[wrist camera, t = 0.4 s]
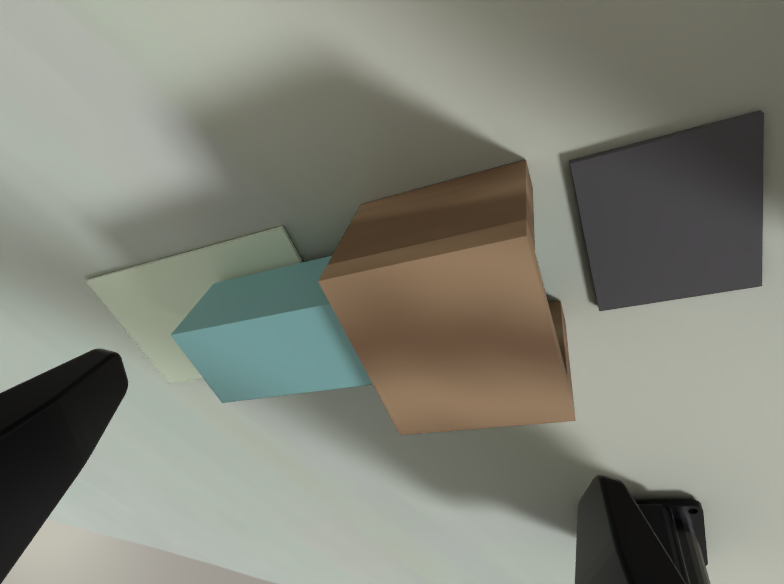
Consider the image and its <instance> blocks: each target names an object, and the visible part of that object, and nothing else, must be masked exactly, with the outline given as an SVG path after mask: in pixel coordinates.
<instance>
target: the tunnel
mask: <svg viewBox="0 0 784 584" xmlns="http://www.w3.org/2000/svg"><path fill="white" fill-rule="evenodd" d="M318 282H319V284H320V286H321V288H322V290H323V292H324V294H325V296H326V297H327V299H328V301H329V303H330V305H331V307H332V309H333V310H334V312H335V314H336V316H337V318H338V320H339V322H340V324H341V325H342V327H343V329H344V331H345V333H346V335H347V337H348V339H349V340H350V342H351V344H352V346H353V348H354V350H355V352H356V353H357V355H358V357H359V359H360V361H361V363H362V365H363V367H364V368H365V370H366V372H367V374H368V376H369V378H370V380H371V381H372V383H373V385H374V387H375V389H376V391H377V393H378V395H379V396H380V398H381V400H382V402H383V404H384V406H385V408H386V410H387V411H388V413H389V415H390V417H391V419H392V421H393V423H394V424H395V426H396V428H397V430H398V432H399V434H400V435H405V434H418V433H430V432H443V431H455V430H467V429H480V428H492V427H505V426H517V425H529V424H542V423H554V422H566V421H575V411H574V402H573V392H572V382H571V373H570V363H569V353H568V344H567V334H566V324H565V318H564V314H563V310H562V306H561V302H560V301H554V302H548V301H547V297H546V293H545V289H544V285H543V281H542V278H541V274H540V270H539V266H538V262H537V258H536V255H535V240H534V212H533V187H532V183H531V179H530V175H529V171H528V167H527V163H526V160H522V161H518V162H515V163H511V164H507V165H504V166H500V167H496V168H493V169H489V170H485V171H482V172H478V173H474V174H471V175H467V176H464V177H460V178H456V179H453V180H449V181H445V182H442V183H438V184H434V185H431V186H427V187H423V188H420V189H416V190H412V191H409V192H405V193H401V194H398V195H394V196H390V197H387V198H383V199H379V200H376V201H372V202H368V203H365V204H361V205H360V207H359V209H358V211H357V212H356V214H355V216H354V218H353V220H352V221H351V223H350V225H349V227H348V228H347V230H346V232H345V234H344V236H343V237H342V239H341V241H340V243H339V244H338V246H337V248H336V250H335V252H334V253H333V255H332V257H331V259H330V261H329V262H328V264H327V266H326V268H325V269H324V271H323V273H322V275H321V277H320V278H319V280H318Z"/></svg>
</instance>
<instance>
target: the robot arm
mask: <svg viewBox="0 0 784 584" xmlns="http://www.w3.org/2000/svg"><path fill="white" fill-rule="evenodd" d="M127 388H128V379H127V376H126V372H125V369H124V365H123V362H122V358H121V356H120V355H119V354H118V353H116V352H113V351H109V350H105V349H94V350H91V351H89V352H87V353H85V354H83V355H81V356H79V357H76V358H74V359H72V360H70V361H68V362H66V363H64V364H61V365H59V366H57V367H55V368H53V369H51V370H49V371H47V372H44V373H42V374H40V375H38V376H36V377H34V378H32V379H30V380H27V381H25V382H23V383H21V384H19V385H17V386H15V387H12V388H10V389H8V390H6V391H4V392H2V393H0V584H1V583H2V582H3V580H4V579H5V577H6V576H7V574H8V573H9V571H10V570H11V569H12V567H13V566H14V564H15V563H16V562H17V560H18V559H19V557H20V556H21V555H22V553H23V552H24V550H25V549H26V548H27V546H28V545H29V543H30V542H31V541H32V539H33V537H34V536H35V535H36V533H37V532H38V530H39V529H40V528H41V526H42V525H43V524H44V522H45V521H46V519H47V518H48V517H49V515H50V514H51V512H52V511H53V509H54V508H55V507H56V505H57V504H58V502H59V501H60V500H61V498H62V497H63V495H64V494H65V493H66V491H67V490H68V488H69V487H70V485H71V484H72V483H73V481H74V480H75V478H76V477H77V476H78V474H79V473H80V471H81V470H82V468H83V467H84V465H85V464H86V462H87V460H88V459H89V457H90V455H91V454H92V452H93V450H94V449H95V447H96V445H97V443H98V442H99V440H100V438H101V436H102V435H103V433H104V431H105V429H106V427H107V426H108V424H109V422H110V420H111V419H112V417H113V415H114V413H115V412H116V410H117V408H118V406H119V405H120V403H121V401H122V399H123V397H124V396H125V394H126V391H127ZM707 564H708V561H707V549H706V538H705V526H704V515H703V509H702V506H701V503H700V502H699V501H697V500H649V501H635V500H634V499H633V497H632V496H631V494H630V492H629V491H628V489H627V488H626V486H625V485H624V484H623V483H622V482H621V481H620V480H618V479H614V478H610V477H606V476H602V475H598V476H596V477H595V478H594V479H593V481H592V482H591V484H590V485H589V487H588V489H587V490H586V492H585V493H584V495H583V496H582V498H581V500H580V502H579V506H578V516H577V542H576V569H575V584H710V580H709V577H708V573H707V570H706V566H707Z"/></svg>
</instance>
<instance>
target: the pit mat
mask: <svg viewBox="0 0 784 584" xmlns="http://www.w3.org/2000/svg"><path fill="white" fill-rule="evenodd" d="M763 118H764V113H762V112H761V111H757V112H753V113H749V114H745V115H741V116H738V117H734V118H730V119H726V120H722V121H719V122H715V123H711V124H707V125H703V126H700V127H696V128H692V129H688V130H684V131H681V132H677V133H673V134H669V135H665V136H662V137H658V138H654V139H650V140H647V141H643V142H639V143H635V144H631V145H628V146H624V147H620V148H616V149H612V150H609V151H605V152H601V153H597V154H593V155H590V156H586V157H582V158H578V159H574V160H571V161H570V166H571V171H572V176H573V181H574V186H575V191H576V196H577V201H578V206H579V212H580V217H581V222H582V227H583V232H584V237H585V242H586V247H587V252H588V257H589V262H590V267H591V272H592V277H593V282H594V287H595V292H596V298H597V303H598V308H599V311H604V310H610V309H617V308H623V307H630V306H636V305H643V304H649V303H656V302H662V301H669V300H675V299H681V298H688V297H694V296H701V295H707V294H714V293H720V292H727V291H733V290H740V289H746V288H753V287H759V286H762V227H763Z"/></svg>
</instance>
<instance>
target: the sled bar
mask: <svg viewBox="0 0 784 584" xmlns="http://www.w3.org/2000/svg"><path fill="white" fill-rule="evenodd" d="M331 257H332V256H328V257H324V258H319V259H315V260H311V261H307V262H302V263H298V264H294V265H290V266H285V267H281V268H277V269H273V270H269V271H264V272H260V273H256V274H252V275H247V276H243V277H239V278H235V279H231V280H226V281H222V282H218V283H214V284H213V285H212V286H211V287H210V288H209V290H208V291H207V292H206V293H205V294H204V296H203V297H202V298H201V299H200V300H199V302H198V303H197V304H196V305H195V306H194V307H193V309H192V310H191V311H190V312H189V313H188V315H187V316H186V317H185V318H184V319H183V321H182V322H181V323H180V324H179V325H178V327H177V328H176V329H175V330H174V331H173V332H172V334H171V337H172V338H173V339H174V341H175V342H176V343H177V345H178V346H179V347H180V348H181V350H182V351H183V352H184V354H185V355H186V356H187V358H188V359H189V360H190V362H191V363H192V364H193V365H194V367H195V368H196V369H197V371H198V372H199V373H200V375H201V376H202V377H203V378H204V380H205V381H206V382H207V384H208V385H209V386H210V388H211V389H212V390H213V392H214V393H215V394H216V395H217V397H218V398H219V399H220V401H221V402H222V403H226V402H234V401H242V400H250V399H258V398H266V397H274V396H283V395H291V394H299V393H307V392H315V391H323V390H331V389H339V388H347V387H355V386H363V385H371V384H373V383H372V381H371V380H370V378H369V376H368V374H367V372H366V370H365V368H364V367H363V365H362V363H361V361H360V359H359V357H358V355H357V353H356V352H355V350H354V348H353V346H352V344H351V342H350V340H349V339H348V337H347V335H346V333H345V331H344V329H343V327H342V325H341V324H340V322H339V320H338V318H337V316H336V314H335V312H334V310H333V309H332V307H331V305H330V303H329V301H328V299H327V297H326V296H325V294H324V292H323V290H322V288H321V286H320V284H319V282H318V280H319V278H320V277H321V275H322V273H323V271H324V269H325V268H326V266H327V264H328V262H329V261H330V259H331Z"/></svg>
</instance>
